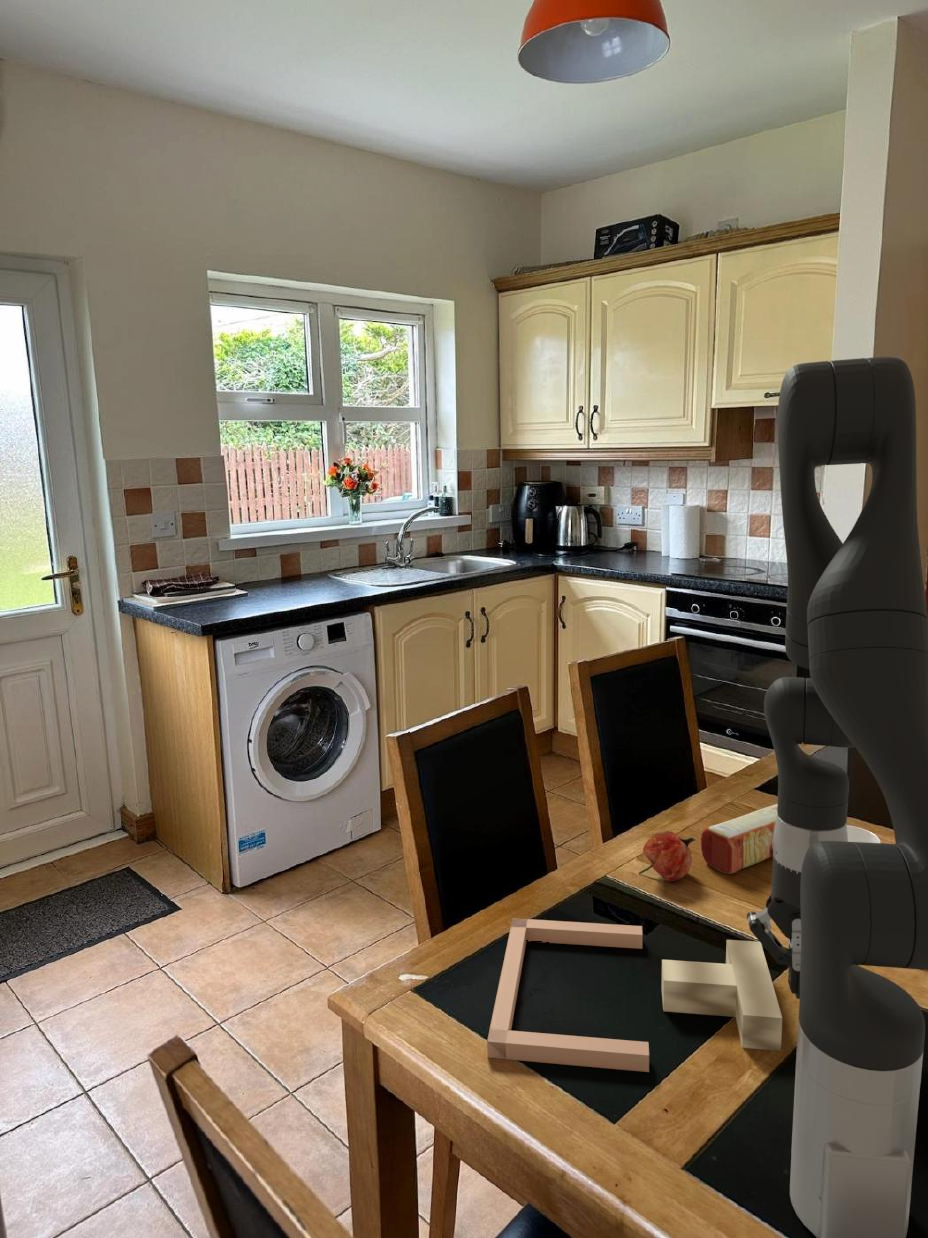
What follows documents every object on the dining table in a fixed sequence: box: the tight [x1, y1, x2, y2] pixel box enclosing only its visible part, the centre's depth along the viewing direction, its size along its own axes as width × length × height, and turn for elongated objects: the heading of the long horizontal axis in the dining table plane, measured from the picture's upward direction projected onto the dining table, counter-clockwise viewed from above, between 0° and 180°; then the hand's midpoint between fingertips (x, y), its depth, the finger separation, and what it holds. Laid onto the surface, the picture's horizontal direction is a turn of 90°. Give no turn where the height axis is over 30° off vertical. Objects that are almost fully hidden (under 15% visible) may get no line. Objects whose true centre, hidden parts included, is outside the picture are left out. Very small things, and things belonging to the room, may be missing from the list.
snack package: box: [700, 802, 778, 875], centre depth 134 cm, size 21×7×7 cm, turn 121°
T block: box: [661, 939, 783, 1052], centre depth 99 cm, size 12×14×4 cm
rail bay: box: [486, 917, 650, 1073], centre depth 102 cm, size 24×17×2 cm
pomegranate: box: [638, 830, 696, 883], centre depth 127 cm, size 7×7×10 cm
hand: (802, 995), depth 97 cm, fingers closed
